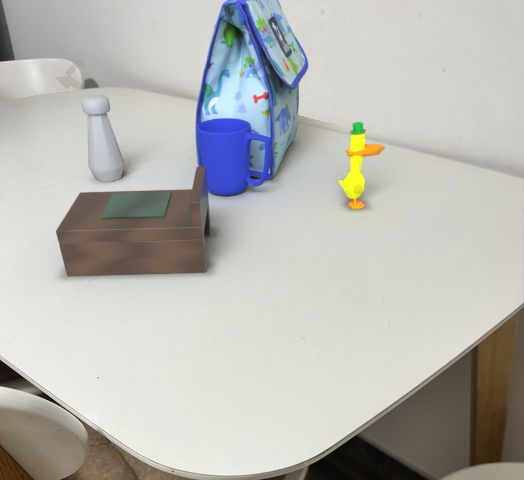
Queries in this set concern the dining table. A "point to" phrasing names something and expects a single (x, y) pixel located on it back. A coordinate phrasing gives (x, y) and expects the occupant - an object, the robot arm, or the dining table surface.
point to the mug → (229, 154)
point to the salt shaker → (102, 140)
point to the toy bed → (137, 231)
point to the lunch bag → (254, 77)
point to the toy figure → (357, 164)
